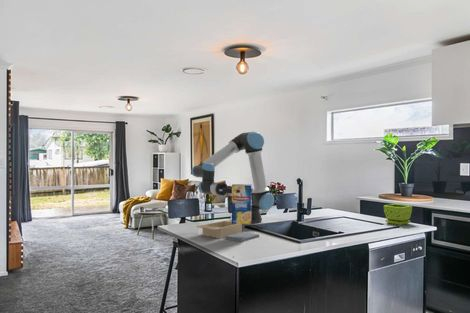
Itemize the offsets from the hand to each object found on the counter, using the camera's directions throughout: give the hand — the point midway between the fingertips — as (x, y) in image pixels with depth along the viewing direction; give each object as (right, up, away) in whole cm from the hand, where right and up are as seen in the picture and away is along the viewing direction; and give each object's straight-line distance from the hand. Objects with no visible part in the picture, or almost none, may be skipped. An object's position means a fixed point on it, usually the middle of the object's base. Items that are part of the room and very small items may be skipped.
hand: (248, 191), depth 201 cm
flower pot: (+106, -28, +46) cm, 119 cm away
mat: (-3, -27, +3) cm, 28 cm away
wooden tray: (-16, -27, +14) cm, 34 cm away
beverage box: (-4, -19, +2) cm, 19 cm away
